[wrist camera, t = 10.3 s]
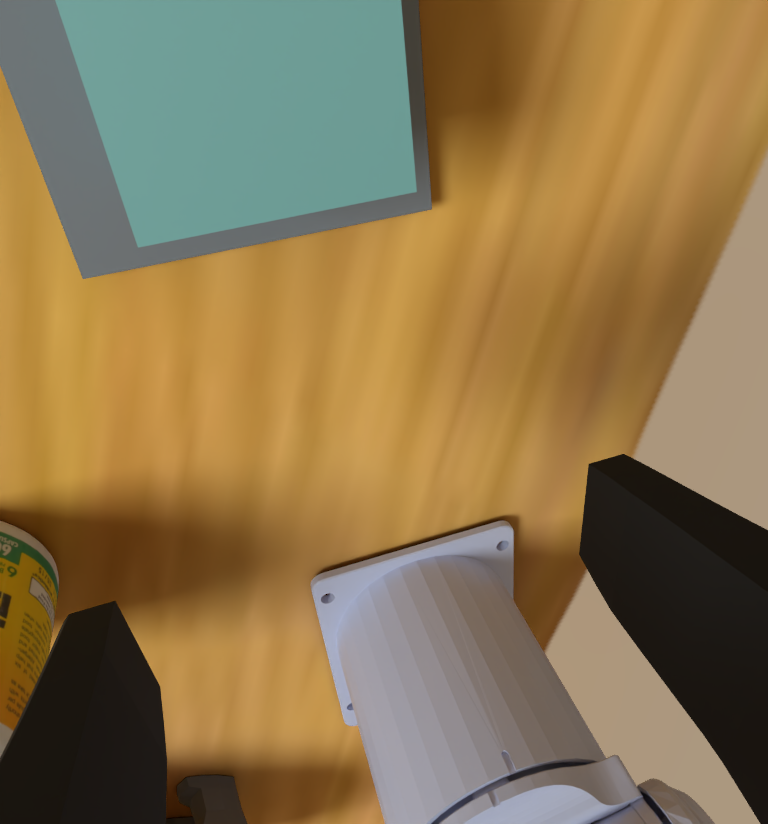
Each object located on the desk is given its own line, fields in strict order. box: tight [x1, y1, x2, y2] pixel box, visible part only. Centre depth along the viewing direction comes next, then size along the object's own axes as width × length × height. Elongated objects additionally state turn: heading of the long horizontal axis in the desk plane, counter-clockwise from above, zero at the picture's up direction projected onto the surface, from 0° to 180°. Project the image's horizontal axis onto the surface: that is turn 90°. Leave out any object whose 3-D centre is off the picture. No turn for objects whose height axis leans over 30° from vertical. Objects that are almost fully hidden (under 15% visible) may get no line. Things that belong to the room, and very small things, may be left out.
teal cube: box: [55, 0, 417, 248], centre depth 12 cm, size 5×5×5 cm
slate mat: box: [0, 0, 432, 279], centre depth 14 cm, size 9×9×1 cm
